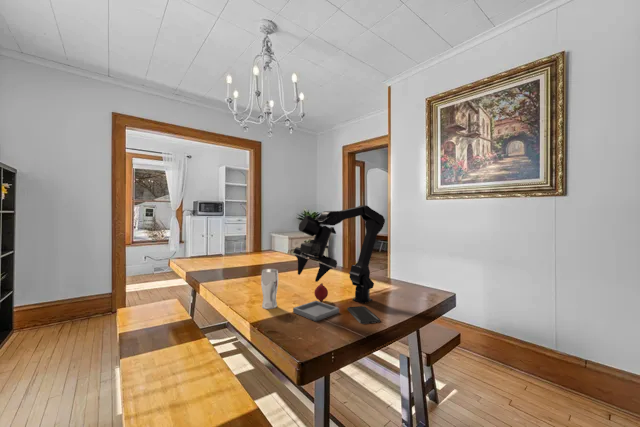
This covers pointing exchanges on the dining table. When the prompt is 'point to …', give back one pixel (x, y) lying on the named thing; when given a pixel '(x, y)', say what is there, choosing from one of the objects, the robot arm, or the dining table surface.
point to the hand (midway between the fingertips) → (307, 278)
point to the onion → (321, 292)
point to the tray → (316, 310)
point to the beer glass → (269, 288)
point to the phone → (363, 314)
